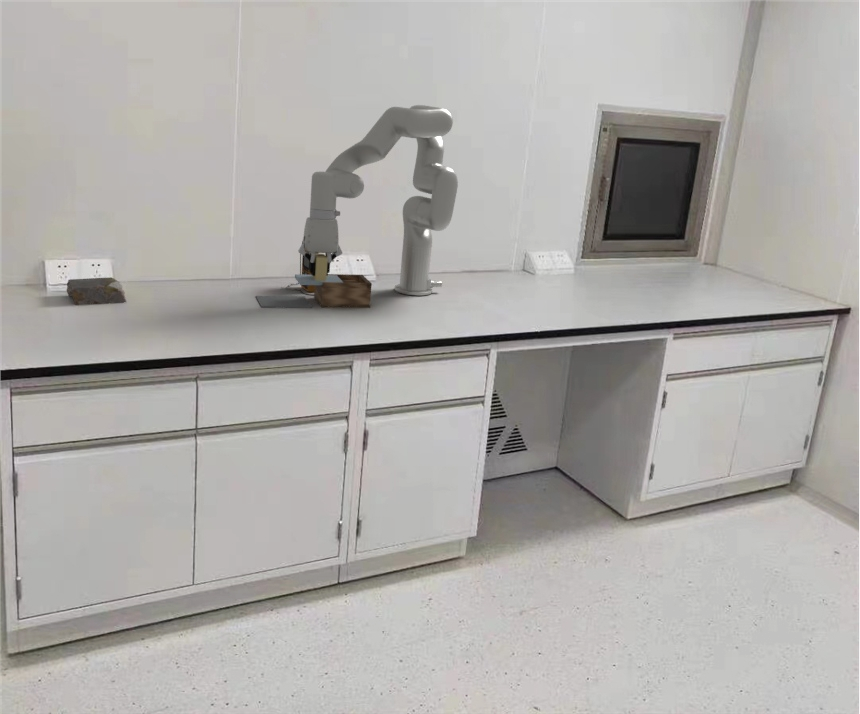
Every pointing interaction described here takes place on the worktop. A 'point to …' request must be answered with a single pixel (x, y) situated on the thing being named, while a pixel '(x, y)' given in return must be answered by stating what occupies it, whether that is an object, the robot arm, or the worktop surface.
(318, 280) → the cover plate
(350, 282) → the case
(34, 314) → the worktop surface
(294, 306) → the mat
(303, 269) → the multimeter
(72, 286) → the geological specimen
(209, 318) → the worktop surface
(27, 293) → the worktop surface
